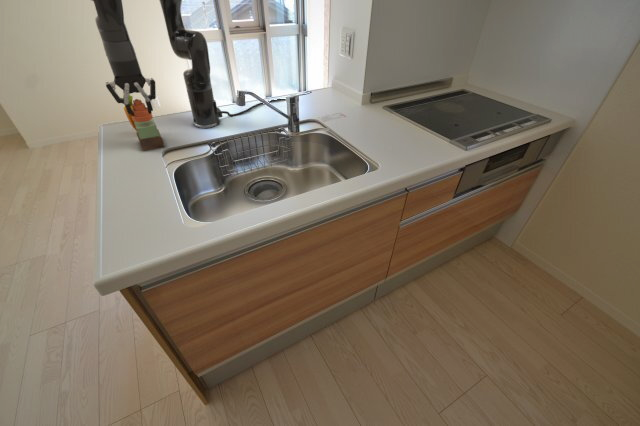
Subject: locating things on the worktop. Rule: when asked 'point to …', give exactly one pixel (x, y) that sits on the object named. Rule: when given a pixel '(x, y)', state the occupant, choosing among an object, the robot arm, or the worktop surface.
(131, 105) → the carrot
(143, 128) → the top block
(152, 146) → the base block
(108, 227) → the worktop surface
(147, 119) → the cone
